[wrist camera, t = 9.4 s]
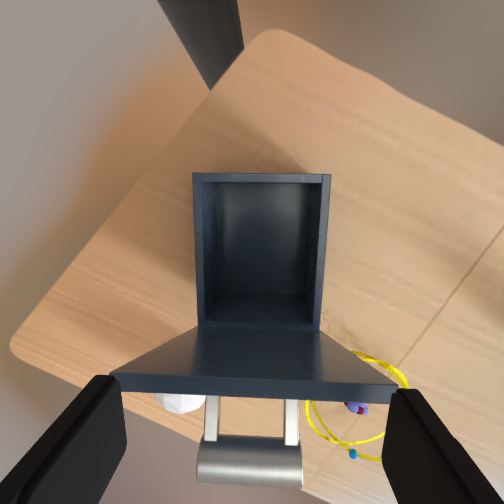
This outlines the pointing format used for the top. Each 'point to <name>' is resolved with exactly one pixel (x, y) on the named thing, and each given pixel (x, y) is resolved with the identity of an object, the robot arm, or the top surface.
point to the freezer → (260, 249)
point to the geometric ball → (180, 402)
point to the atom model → (357, 410)
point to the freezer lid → (254, 392)
